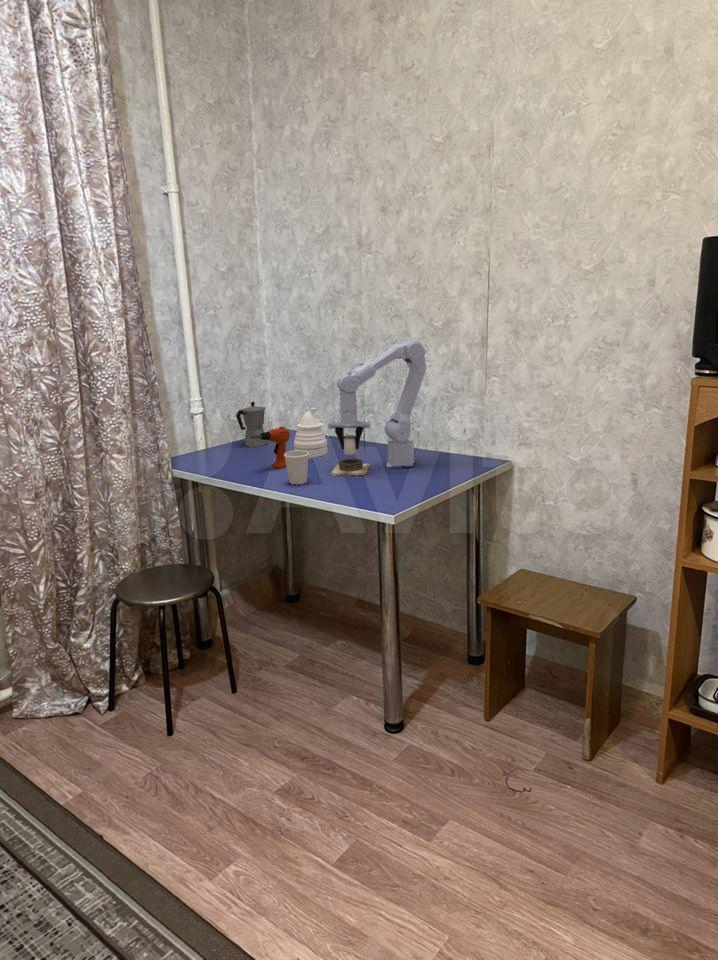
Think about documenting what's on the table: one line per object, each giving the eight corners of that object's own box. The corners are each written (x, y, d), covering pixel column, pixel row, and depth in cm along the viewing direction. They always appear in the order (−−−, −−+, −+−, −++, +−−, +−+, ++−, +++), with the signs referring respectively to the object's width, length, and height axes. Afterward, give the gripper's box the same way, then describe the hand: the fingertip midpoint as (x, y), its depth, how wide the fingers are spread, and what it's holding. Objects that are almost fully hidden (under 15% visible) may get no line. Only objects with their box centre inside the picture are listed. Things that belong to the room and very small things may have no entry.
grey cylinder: (357, 451, 246) (356, 435, 244) (356, 454, 241) (355, 437, 240) (344, 452, 246) (343, 435, 244) (343, 455, 242) (342, 438, 240)
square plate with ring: (369, 466, 251) (369, 457, 250) (366, 475, 239) (365, 465, 238) (336, 466, 252) (336, 457, 251) (331, 475, 241) (331, 465, 240)
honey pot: (329, 450, 277) (327, 405, 272) (324, 458, 265) (322, 411, 260) (297, 450, 279) (295, 405, 274) (291, 458, 266) (288, 411, 262)
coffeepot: (260, 440, 299) (257, 398, 294) (275, 443, 293) (272, 400, 288) (232, 447, 288) (228, 404, 283) (246, 450, 282) (243, 406, 277)
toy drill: (245, 470, 245) (246, 428, 243) (283, 465, 260) (284, 425, 257) (255, 472, 242) (255, 429, 240) (293, 467, 257) (294, 426, 254)
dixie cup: (306, 486, 229) (304, 456, 227) (282, 485, 231) (280, 456, 229) (313, 479, 237) (312, 450, 234) (290, 478, 239) (288, 450, 236)
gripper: (325, 412, 237) (327, 451, 241) (368, 411, 235) (369, 451, 239) (329, 408, 244) (330, 446, 247) (370, 408, 242) (371, 446, 245)
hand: (350, 448), depth 243 cm, fingers closed on grey cylinder, 4 cm apart
